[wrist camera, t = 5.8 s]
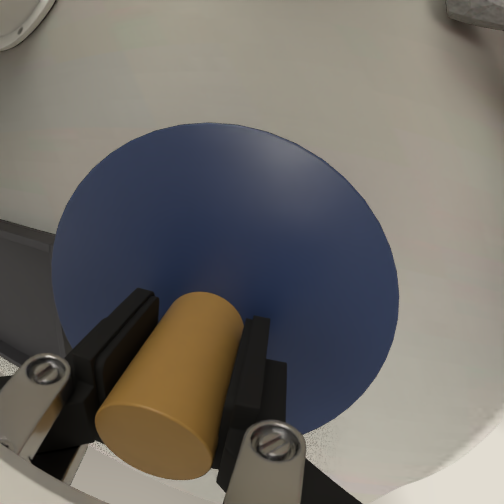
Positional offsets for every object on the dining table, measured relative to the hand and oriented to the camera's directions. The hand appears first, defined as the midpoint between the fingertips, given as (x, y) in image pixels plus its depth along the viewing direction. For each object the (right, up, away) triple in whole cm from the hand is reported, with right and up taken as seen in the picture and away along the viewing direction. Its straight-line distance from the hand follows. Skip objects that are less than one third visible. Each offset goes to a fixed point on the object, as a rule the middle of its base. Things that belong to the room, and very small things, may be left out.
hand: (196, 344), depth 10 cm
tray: (-26, -2, +19) cm, 32 cm away
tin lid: (0, 0, +2) cm, 2 cm away
